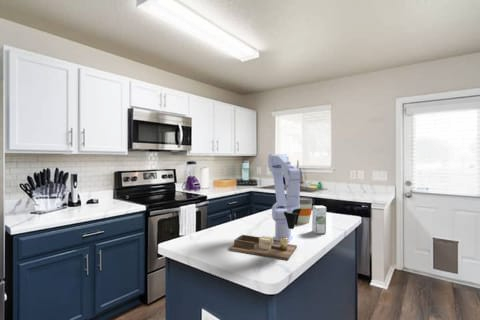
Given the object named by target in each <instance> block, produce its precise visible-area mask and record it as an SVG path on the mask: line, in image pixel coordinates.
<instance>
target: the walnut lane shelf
mask: <svg viewBox="0 0 480 320" xmlns="http://www.w3.org/2000/svg"><path fill="white" fill-rule="evenodd" d="M261 237H262V236H261ZM261 237H260V236H255V235H248V234H241V235H239V236H238V237H237V238H235V239H233V245H231V246H230V247H229V251H231V252H232V251H233V252H239V253H245V254H250V255H256V256H262V257H266V258H267V257H269V258H273V259H279V260H280V259H281V260H285V261H289V260H290V259H291V256H292V255H293V254H294V252H295V251H296V249H297V248H298V247H297V245H296V244H289V243H287V251H281V250H280V249H275V248H271V249H270V250H269V249H262V248H259V238H261ZM273 246H278V247H280V242H278V241H277V242H276V241H273Z"/></svg>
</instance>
